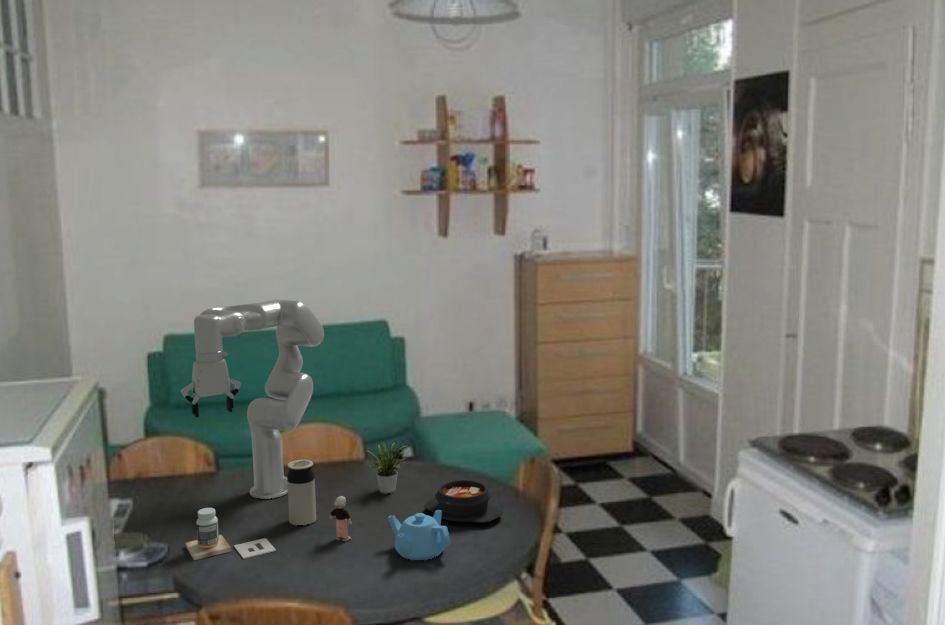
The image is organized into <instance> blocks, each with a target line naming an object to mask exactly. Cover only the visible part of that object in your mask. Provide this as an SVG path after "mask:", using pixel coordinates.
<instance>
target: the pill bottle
mask: <svg viewBox="0 0 945 625" xmlns="http://www.w3.org/2000/svg"><path fill="white" fill-rule="evenodd" d="M197 517H198V518H197V519H196V523H195V525H196V537H197V539H196V540H197V541H198V546H199V547H201V548H211V547H214V546H216V545H217V544H218V543H219V535H220V534H219V531H220V530H219V519H218V516H216V509H215V508H213V507H204V508H201V509H199V510H198V511H197Z"/></svg>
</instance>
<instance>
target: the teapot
mask: <svg viewBox="0 0 945 625" xmlns="http://www.w3.org/2000/svg"><path fill="white" fill-rule="evenodd" d="M441 515H442V511H441V510H437V511H435V514H434V513H433V515H432V516H430V515H427V514H424V513H423V512H417V513H415V514H414V515H411V516H408V517H407V518H406V519H405V520H404V521H403V522H402V524H401V522H400V521H399V519H397V518H396V515H389V516H388V517H387V519H388V521H389V524H390V527H391V530H392V532H393V534H394V538H395V539H394V540H395V541H394V548H395V551H396V552H397V553H398V554H399V555H400V557H402V558H404V559H406V558H407V559H406V560H408V559H410V560H409V561H414V560H424V561H428V559H430V560H433V559H435V558H437V557H438V556H439V555H441V553H443V551H444V550H445V549H446V548H447V547H448V546H449V545H450V544H452V541H451V538H450V537H451V536H450V534H449V531H448V527H447V526H446V525H441V523H442V518H441ZM436 556H437V557H436ZM434 557H435V558H434ZM432 558H433V559H432Z"/></svg>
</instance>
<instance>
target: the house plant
mask: <svg viewBox="0 0 945 625" xmlns="http://www.w3.org/2000/svg"><path fill="white" fill-rule="evenodd" d="M395 444H396V442H393V443H392V444H391V447H390V450H389V449H388V447H387V446H386V443H385V442H382V445H383V448H384V449H383V448H382V446H381V445H380V444H377V447H378V451H379V452H378V453H379V456H380V457H378V456H377V455H376V454H375V453H373V452H372V451H370V450H368V449H367V450H366V449H365V451H366V452H369V453H370V454H371V455H372V456H374V458H375V459H376V460H377V461H378V462H377V461H374V460H373V459H370V461H371V462H372V463H373V464H370V465H369V467H372V468H374V469H376V470H377V472H376V474H375V475H376V479H377V480H376V481H377V485H378V490H380V491H381V492H391V491H394V490H395V489H396V488H397V481H398V474H399V472H398V471H399V470H398V468H399V469H400V468H401V465H400V463H401V462H403V460H406V459H407V457H404V458H402V459H399V457H400V456H401V455H402V454H404V453H405V452H406V453H407V450H405V451H401V452H400V450H402V449H403V448H405V447H408V446H409V445H408V444H406V445H402V446H401V447H399V448H398V449H396V451H395V453H394V450H395ZM395 464H396V465H395ZM380 491H379V492H380ZM395 491H396V490H395Z"/></svg>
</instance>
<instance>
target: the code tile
mask: <svg viewBox="0 0 945 625" xmlns="http://www.w3.org/2000/svg"><path fill="white" fill-rule="evenodd" d="M233 547H234V548H235V550H236V551H237V552H238V554H239V555H240V556H241V558H242V559H243V560H244V559H245V560H246V559H250V558H253V557H258V556H261V555H267V554H270V553H274V552H276V551H277V550H276V548H275V547H274V546H273V545H272V543H271V542H270V541H269V540H268V538H266V537H264V538H260V539H256V540H252V541H248V542H247V541H246V542H243V543H239V544H238V543H237V544H235V545H233Z"/></svg>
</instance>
